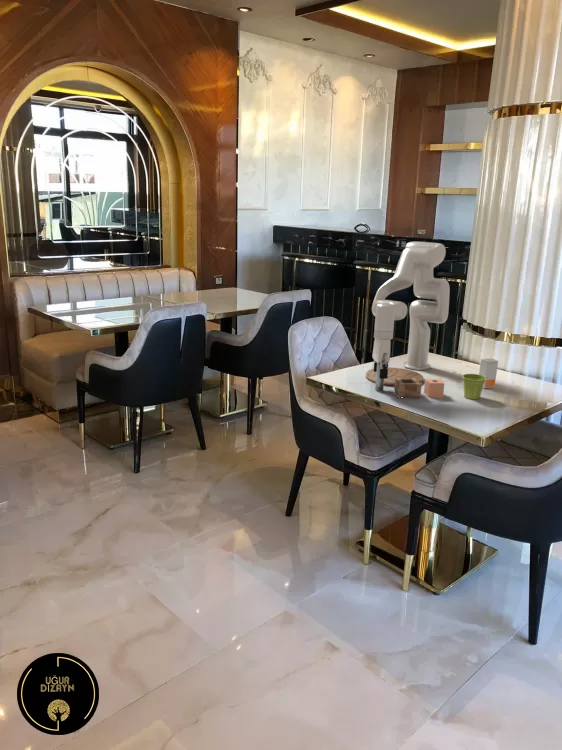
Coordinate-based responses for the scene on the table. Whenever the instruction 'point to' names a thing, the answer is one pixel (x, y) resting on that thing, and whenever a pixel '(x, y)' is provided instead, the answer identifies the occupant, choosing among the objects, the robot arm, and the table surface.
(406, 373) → the trivet
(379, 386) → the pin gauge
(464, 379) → the plant pot
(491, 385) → the skincare box
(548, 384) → the table surface
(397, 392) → the wooden box
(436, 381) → the pink cube with hole
